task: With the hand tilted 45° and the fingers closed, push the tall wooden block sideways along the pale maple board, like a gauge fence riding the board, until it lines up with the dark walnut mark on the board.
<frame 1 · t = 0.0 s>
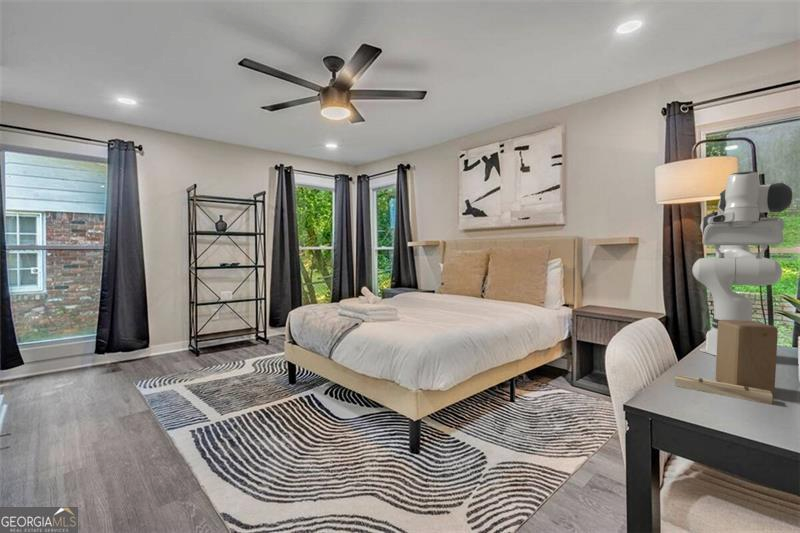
hand: (739, 258, 125), 39 cm above the table, tool pointing down, fingers open, 8 cm apart
maple board: (720, 392, 107), on the table
wooden block: (743, 389, 110), on the table
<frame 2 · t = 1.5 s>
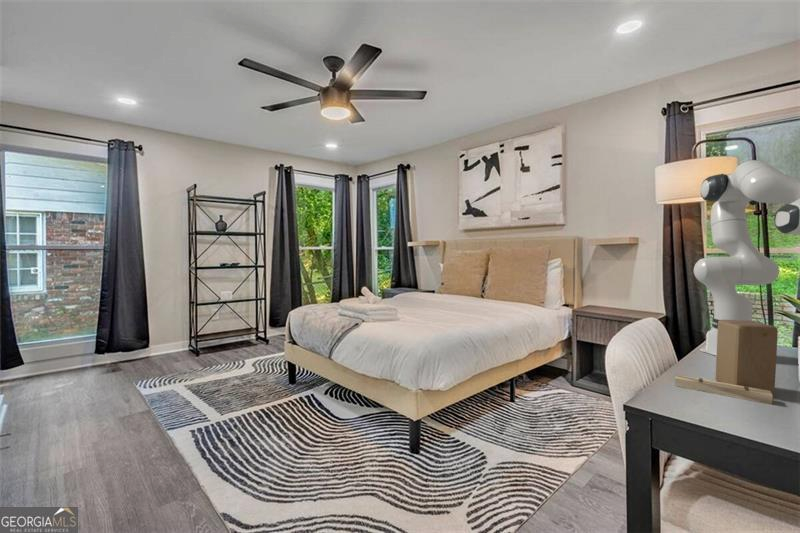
nothing on the table moved.
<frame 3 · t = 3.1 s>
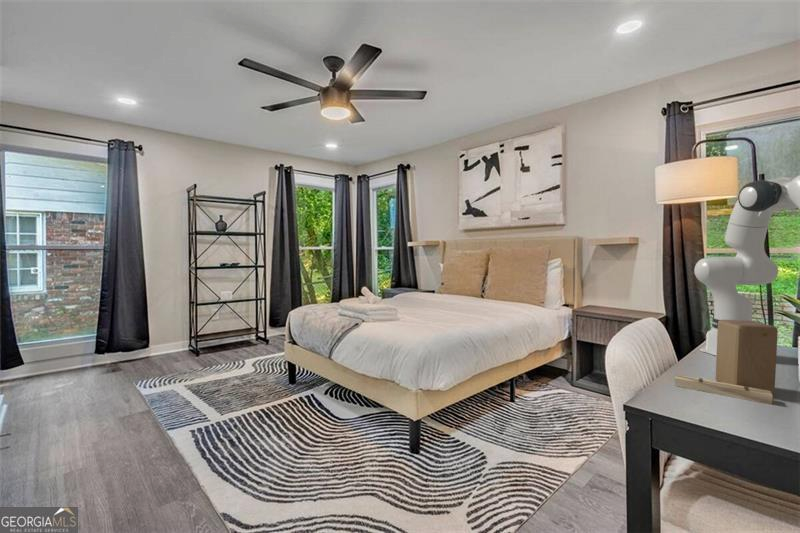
nothing on the table moved.
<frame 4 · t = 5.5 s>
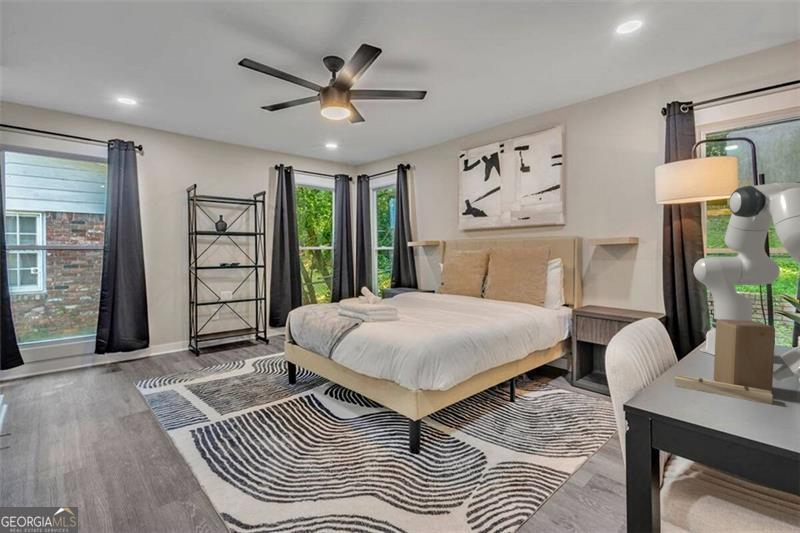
hand: (774, 377, 106), 5 cm above the table, tool tilted 45°, fingers closed
wooden block: (741, 388, 111), on the table, touching gripper
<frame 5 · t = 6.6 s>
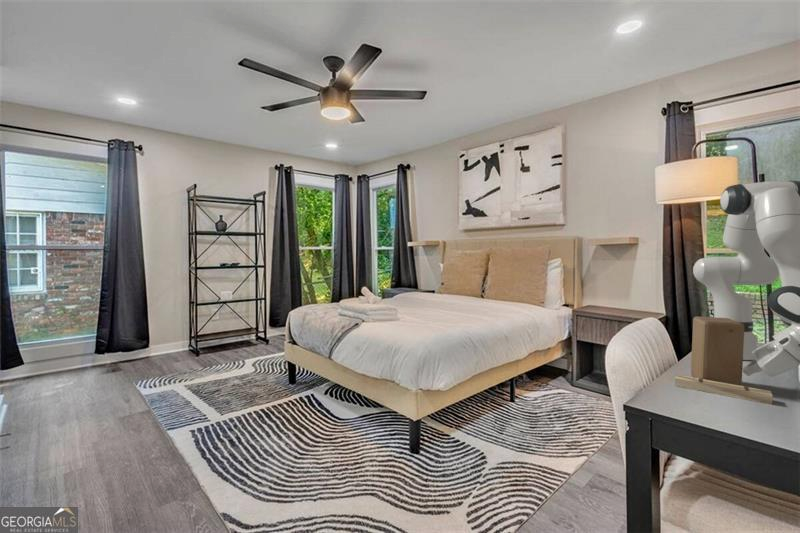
hand: (744, 372, 110), 5 cm above the table, tool tilted 45°, fingers closed
wooden block: (714, 383, 115), on the table, touching gripper
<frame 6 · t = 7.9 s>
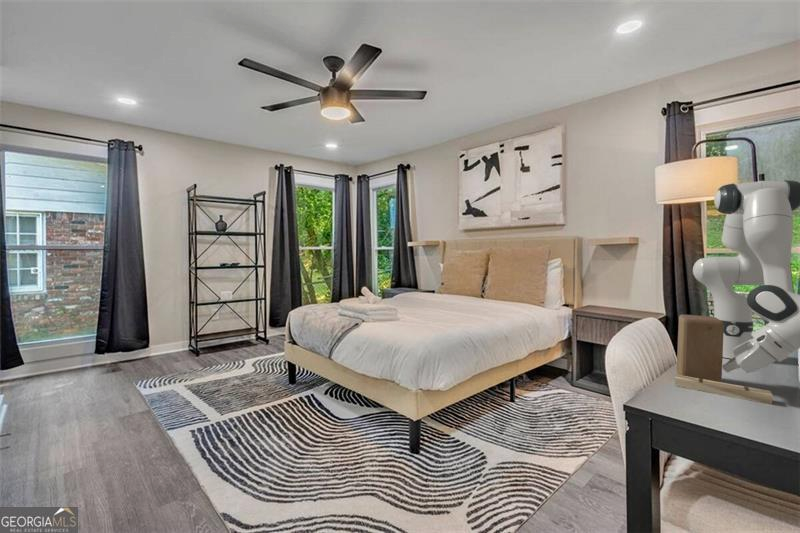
hand: (724, 369, 113), 5 cm above the table, tool tilted 45°, fingers closed
wooden block: (697, 379, 118), on the table, touching gripper
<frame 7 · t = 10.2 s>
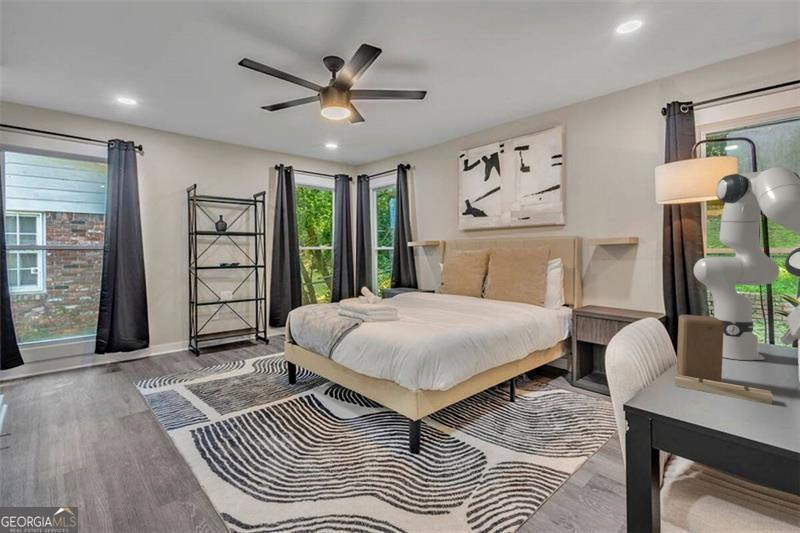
hand: (783, 342, 106), 15 cm above the table, tool tilted 30°, fingers closed
wooden block: (697, 379, 118), on the table
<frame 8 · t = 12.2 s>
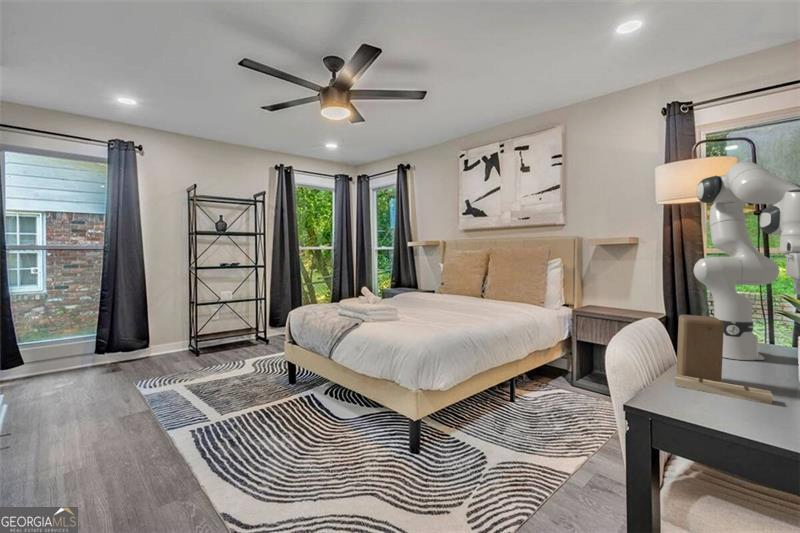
hand: (799, 293, 105), 29 cm above the table, tool pointing down, fingers closed
nothing on the table moved.
at the end: wooden block inside the target area (1.4 cm from its centre), on the table; wooden block tilted 0°; wooden block moved 10.8 cm from its start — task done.
